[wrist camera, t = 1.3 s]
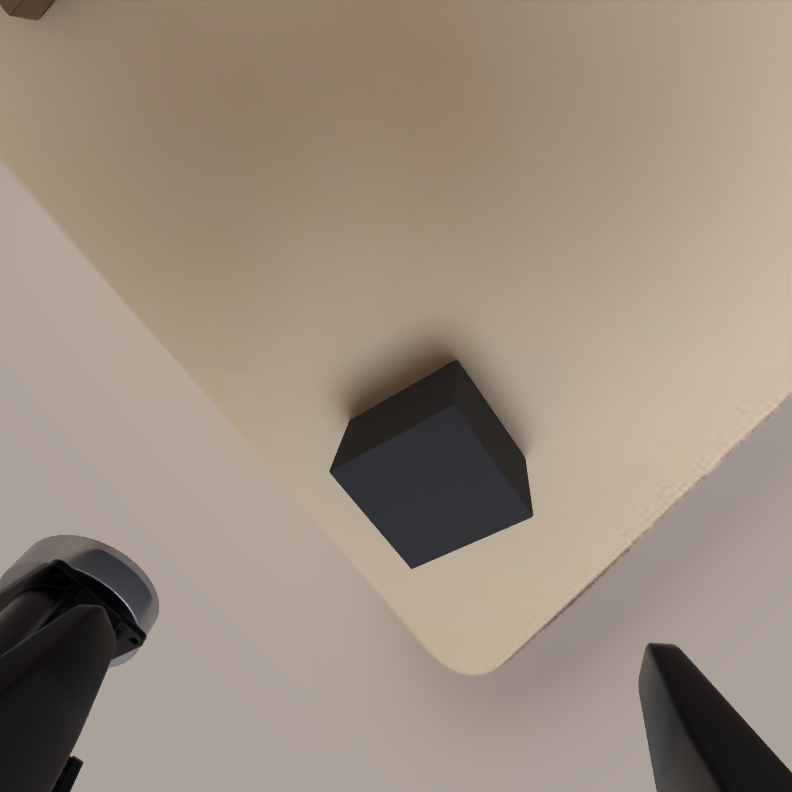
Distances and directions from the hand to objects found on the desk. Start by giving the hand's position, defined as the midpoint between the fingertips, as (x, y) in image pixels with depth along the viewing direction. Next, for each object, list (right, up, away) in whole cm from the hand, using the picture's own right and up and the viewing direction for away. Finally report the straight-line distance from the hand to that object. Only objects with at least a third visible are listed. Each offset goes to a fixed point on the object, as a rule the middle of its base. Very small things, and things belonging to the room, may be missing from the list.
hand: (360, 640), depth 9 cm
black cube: (+2, +2, +13) cm, 13 cm away
